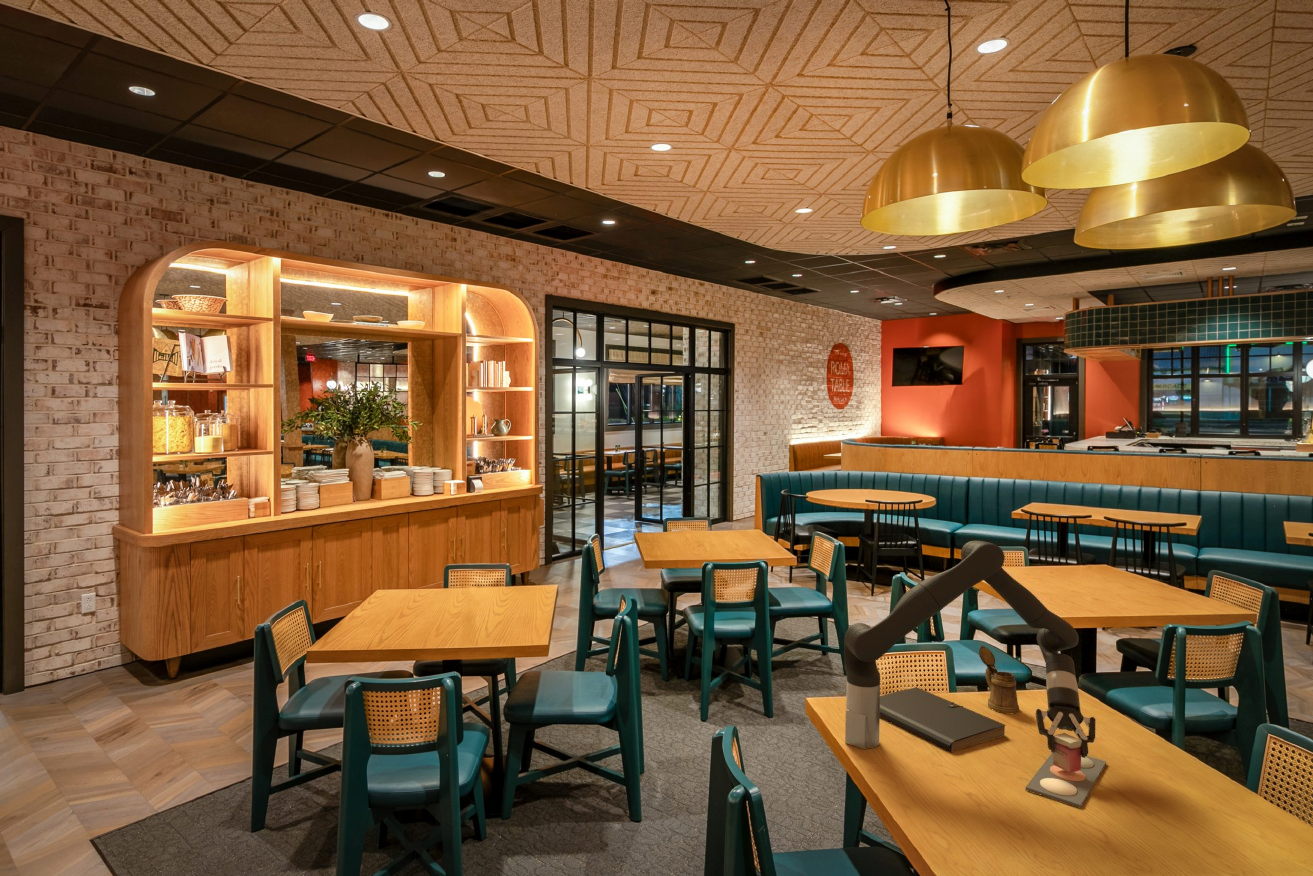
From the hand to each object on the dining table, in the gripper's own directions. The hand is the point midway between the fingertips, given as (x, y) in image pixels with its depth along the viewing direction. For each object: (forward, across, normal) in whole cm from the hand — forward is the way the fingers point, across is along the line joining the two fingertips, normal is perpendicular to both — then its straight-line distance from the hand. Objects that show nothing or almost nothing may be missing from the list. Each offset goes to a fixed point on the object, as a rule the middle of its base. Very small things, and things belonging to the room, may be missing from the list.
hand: (1068, 753), depth 179 cm
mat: (+4, 0, +6) cm, 7 cm away
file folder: (-11, -33, +22) cm, 41 cm away
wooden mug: (-27, -14, +38) cm, 48 cm away
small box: (+2, 0, +4) cm, 5 cm away
